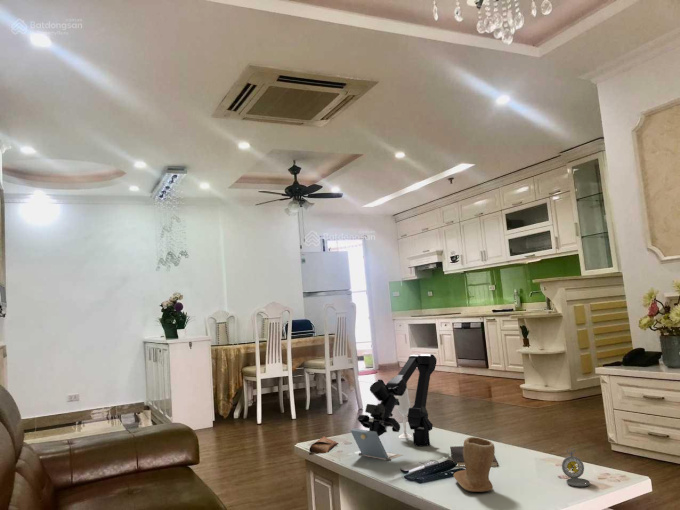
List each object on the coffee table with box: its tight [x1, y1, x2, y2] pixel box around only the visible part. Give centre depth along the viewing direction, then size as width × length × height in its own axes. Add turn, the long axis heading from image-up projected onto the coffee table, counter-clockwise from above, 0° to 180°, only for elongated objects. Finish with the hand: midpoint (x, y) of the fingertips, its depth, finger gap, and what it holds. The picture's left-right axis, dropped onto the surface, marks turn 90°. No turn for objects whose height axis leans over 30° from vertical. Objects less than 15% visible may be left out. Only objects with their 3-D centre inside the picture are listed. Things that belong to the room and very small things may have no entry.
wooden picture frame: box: [358, 451, 403, 462], centre depth 205 cm, size 10×16×2 cm, turn 44°
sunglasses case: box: [308, 435, 339, 454], centre depth 227 cm, size 18×7×7 cm, turn 165°
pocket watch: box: [561, 447, 591, 488], centre depth 161 cm, size 8×8×10 cm
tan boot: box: [453, 436, 496, 493], centre depth 164 cm, size 15×12×15 cm
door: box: [350, 428, 388, 460], centre depth 201 cm, size 2×13×12 cm, turn 44°
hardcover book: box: [449, 445, 499, 467], centre depth 197 cm, size 16×23×2 cm
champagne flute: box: [395, 387, 413, 439], centre depth 241 cm, size 7×7×24 cm
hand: (369, 441), depth 201 cm, fingers closed, pressing on door
